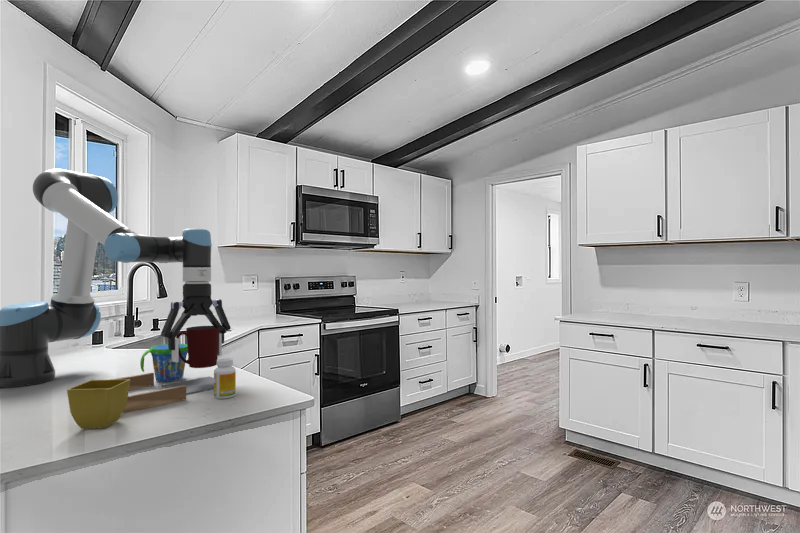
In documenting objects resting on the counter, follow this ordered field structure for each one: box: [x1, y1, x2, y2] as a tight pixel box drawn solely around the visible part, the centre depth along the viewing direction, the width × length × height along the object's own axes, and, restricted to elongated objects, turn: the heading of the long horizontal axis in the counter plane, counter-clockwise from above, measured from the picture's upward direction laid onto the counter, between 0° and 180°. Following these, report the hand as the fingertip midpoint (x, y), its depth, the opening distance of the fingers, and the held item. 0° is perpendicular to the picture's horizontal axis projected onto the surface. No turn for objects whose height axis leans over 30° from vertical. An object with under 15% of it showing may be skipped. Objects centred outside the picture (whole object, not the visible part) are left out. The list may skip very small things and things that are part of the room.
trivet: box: [161, 375, 214, 396], centre depth 133 cm, size 14×14×1 cm
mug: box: [175, 325, 219, 369], centre depth 133 cm, size 12×9×11 cm
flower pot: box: [66, 379, 130, 430], centre depth 100 cm, size 9×9×9 cm
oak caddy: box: [109, 372, 187, 414], centre depth 120 cm, size 22×18×4 cm
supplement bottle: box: [213, 357, 237, 400], centre depth 122 cm, size 5×5×10 cm
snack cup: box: [140, 343, 188, 383], centre depth 141 cm, size 16×10×10 cm
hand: (197, 358), depth 133 cm, fingers closed on mug, 12 cm apart
